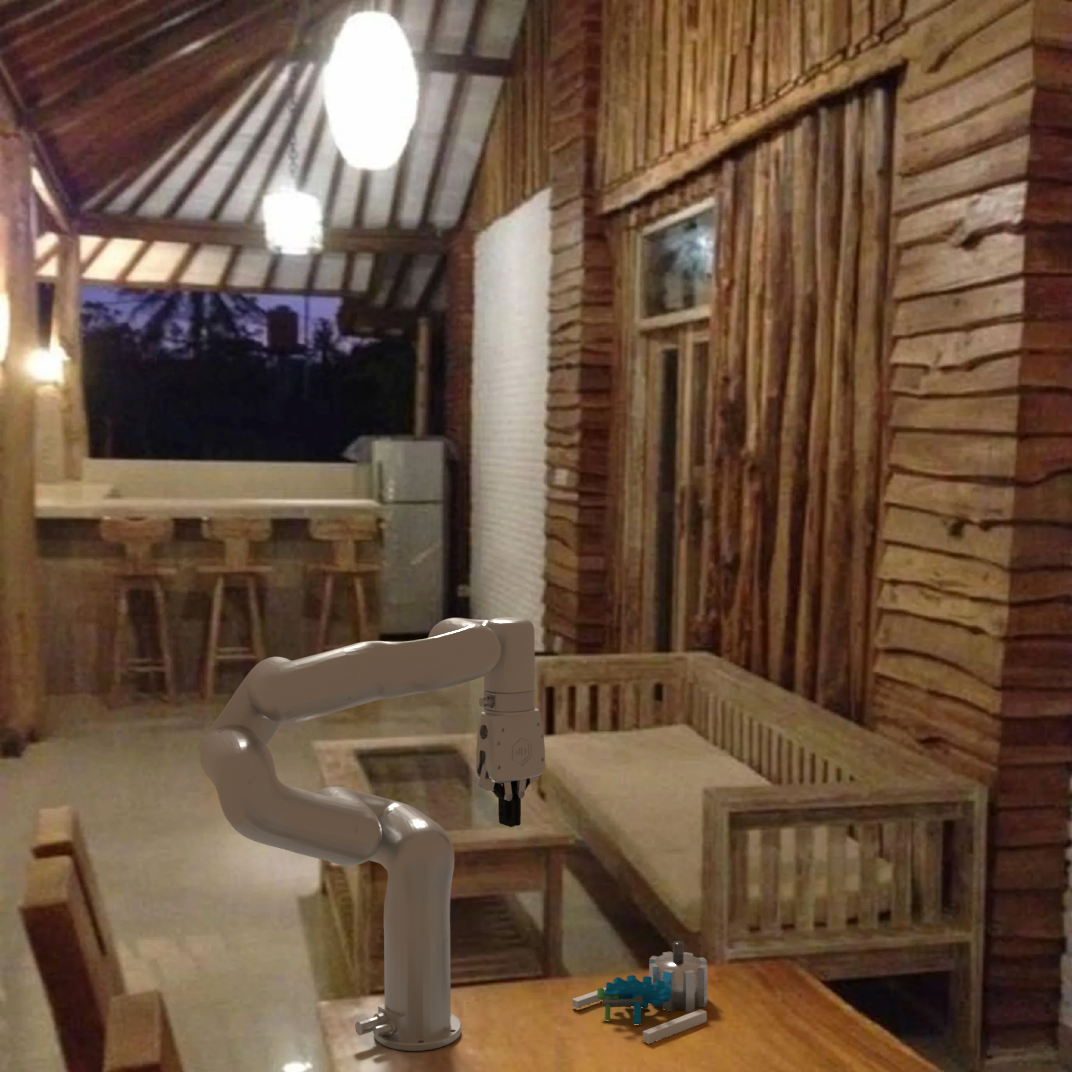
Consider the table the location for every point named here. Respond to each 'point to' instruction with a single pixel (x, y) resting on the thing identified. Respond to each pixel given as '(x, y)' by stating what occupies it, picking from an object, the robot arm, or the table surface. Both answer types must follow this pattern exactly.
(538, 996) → the table surface
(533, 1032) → the table surface
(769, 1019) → the table surface
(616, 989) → the gear
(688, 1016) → the guide rails
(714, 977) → the table surface
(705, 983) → the sun gear
